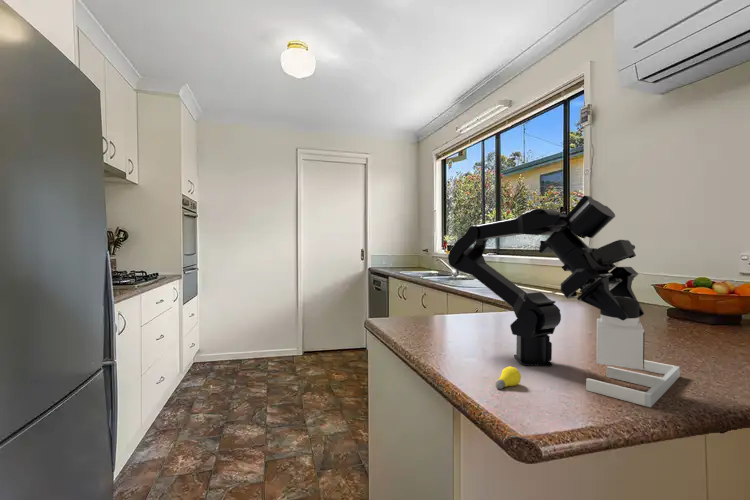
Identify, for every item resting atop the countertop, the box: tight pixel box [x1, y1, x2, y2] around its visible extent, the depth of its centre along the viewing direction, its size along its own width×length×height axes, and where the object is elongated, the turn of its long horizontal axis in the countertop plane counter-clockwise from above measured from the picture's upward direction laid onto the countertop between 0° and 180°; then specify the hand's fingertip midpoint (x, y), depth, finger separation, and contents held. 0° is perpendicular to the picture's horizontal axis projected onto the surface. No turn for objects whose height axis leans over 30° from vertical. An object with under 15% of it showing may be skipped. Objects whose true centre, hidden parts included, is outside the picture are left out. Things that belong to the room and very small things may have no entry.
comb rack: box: [585, 359, 681, 408], centre depth 71 cm, size 22×10×2 cm, turn 131°
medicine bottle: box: [595, 296, 645, 371], centre depth 69 cm, size 7×7×12 cm
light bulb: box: [495, 365, 522, 390], centre depth 69 cm, size 3×6×4 cm, turn 124°
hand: (634, 317), depth 67 cm, fingers closed on medicine bottle, 6 cm apart
